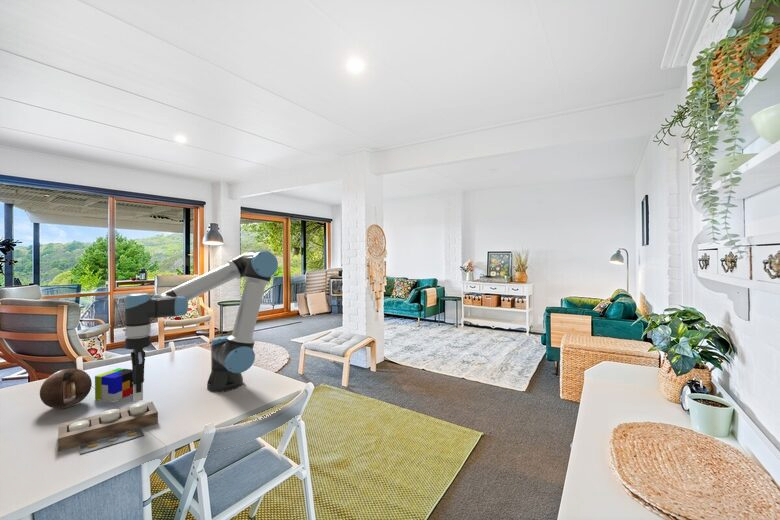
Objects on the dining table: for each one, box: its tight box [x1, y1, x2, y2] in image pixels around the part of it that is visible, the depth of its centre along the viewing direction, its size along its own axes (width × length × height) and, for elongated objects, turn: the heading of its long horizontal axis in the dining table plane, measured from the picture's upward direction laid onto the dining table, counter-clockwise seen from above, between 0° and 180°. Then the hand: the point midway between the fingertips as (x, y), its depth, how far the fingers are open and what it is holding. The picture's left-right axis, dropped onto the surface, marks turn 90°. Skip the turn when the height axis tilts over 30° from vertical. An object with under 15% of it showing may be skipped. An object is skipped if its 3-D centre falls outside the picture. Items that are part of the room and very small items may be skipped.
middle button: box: [100, 408, 120, 424], centre depth 118 cm, size 5×5×4 cm
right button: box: [129, 401, 148, 416], centre depth 124 cm, size 5×5×4 cm
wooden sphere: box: [39, 368, 93, 410], centre depth 135 cm, size 15×15×15 cm
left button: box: [69, 420, 89, 432], centre depth 113 cm, size 5×5×4 cm
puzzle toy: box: [94, 368, 133, 402], centre depth 146 cm, size 10×10×10 cm
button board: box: [57, 401, 159, 455], centre depth 116 cm, size 26×19×4 cm
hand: (138, 400), depth 123 cm, fingers closed
